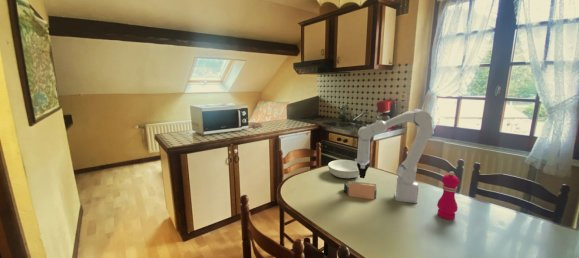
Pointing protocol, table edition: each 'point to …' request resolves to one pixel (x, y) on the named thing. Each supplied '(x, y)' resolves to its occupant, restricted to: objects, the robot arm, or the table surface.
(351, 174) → the serving bowl
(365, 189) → the side door
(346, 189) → the camera housing
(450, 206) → the pepper mill
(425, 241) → the table surface
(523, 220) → the table surface
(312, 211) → the table surface
